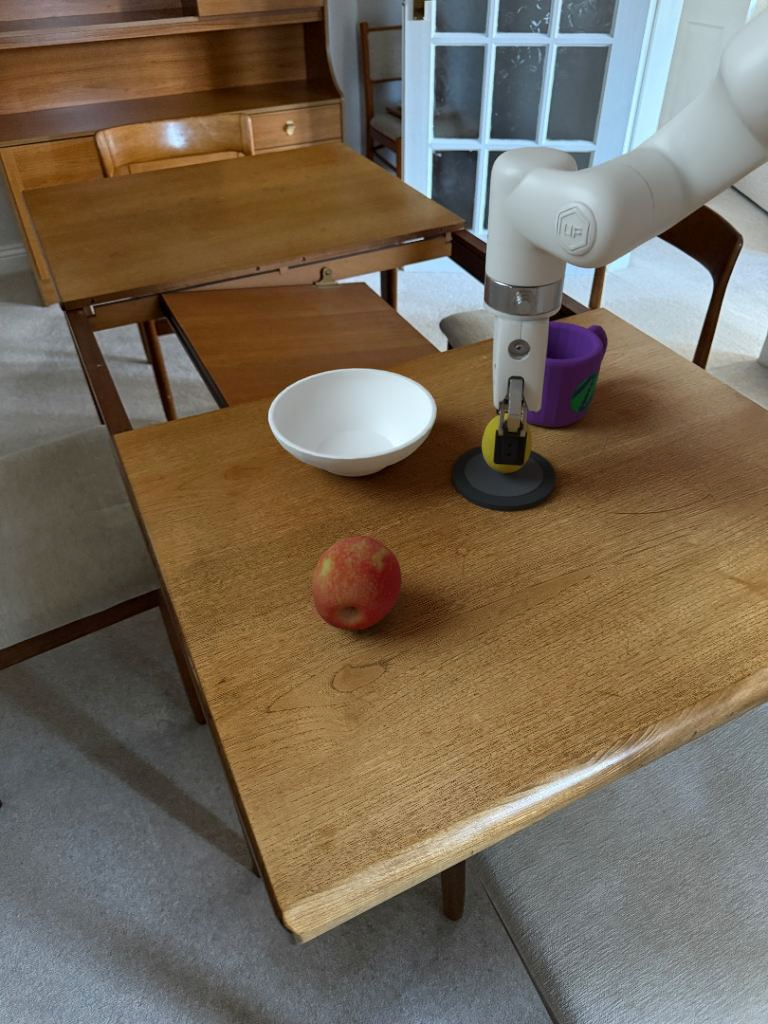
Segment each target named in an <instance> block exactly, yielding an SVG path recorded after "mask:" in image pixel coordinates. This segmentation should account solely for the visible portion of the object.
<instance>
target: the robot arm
mask: <svg viewBox="0 0 768 1024" xmlns="http://www.w3.org/2000/svg"><path fill="white" fill-rule="evenodd" d="M767 163H768V5H767V6H766V7H765V8H764V9H762V10H761V11H760V12H759V13H758V14H757V15H756V16H755V17H753V18H752V19H751V20H750V21H748V22H747V23H746V24H745V25H744V26H742V27H741V28H740V29H739V30H738V31H737V32H735V34H734V35H732V37H730V39H729V40H728V41H727V42H726V44H725V45H724V47H723V49H722V51H721V53H720V56H719V64H718V68H717V71H716V73H715V75H714V77H713V78H712V80H711V81H710V82H709V83H708V85H707V86H706V87H705V88H704V89H703V91H701V92H700V93H699V94H698V95H697V96H696V98H694V99H693V100H692V101H691V102H690V103H689V104H688V105H686V106H685V108H683V109H682V110H681V111H679V112H678V113H676V115H675V116H673V118H671V119H670V120H669V121H668V122H666V123H665V124H664V125H662V127H660V128H659V129H658V130H657V131H655V132H654V133H653V134H652V135H651V136H649V137H648V138H647V139H646V140H644V141H642V143H641V144H639V145H637V146H636V147H635V148H633V149H632V150H630V151H628V152H626V153H623V154H620V155H618V156H616V157H613V158H610V159H609V160H606V161H604V162H602V163H599V164H597V165H594V166H590V167H587V168H582V169H578V165H577V162H576V160H575V158H574V156H572V155H571V154H570V153H568V152H566V151H564V150H561V149H558V148H553V147H548V146H547V147H546V146H524V147H517V148H513V149H509V150H507V151H504V152H502V153H501V154H500V155H499V156H498V157H496V160H494V163H493V165H492V169H491V173H490V185H489V201H488V216H487V219H488V220H487V222H488V223H487V236H486V250H485V251H486V253H485V254H486V255H485V269H484V270H485V271H484V286H483V299H482V300H483V301H482V305H483V308H484V309H485V310H486V311H487V313H490V314H491V315H493V316H494V323H493V338H492V339H493V342H492V393H493V396H492V397H493V407H494V408H495V411H496V412H495V413H496V414H497V415H496V416H498V415H499V428H498V430H496V434H495V447H494V459H493V462H494V463H495V464H501V465H517V466H521V465H523V464H524V458H525V449H526V440H527V432H526V418H527V409H529V411H535V412H538V411H539V410H540V409H541V402H542V391H543V381H544V372H545V363H546V353H547V343H548V331H549V322H550V317H553V316H555V315H556V314H558V312H560V310H561V308H562V300H563V294H564V285H565V277H566V271H567V269H566V268H567V264H569V265H571V266H574V267H577V268H581V269H586V270H587V269H598V268H602V267H606V266H608V265H610V264H613V263H614V262H616V261H617V260H619V259H620V258H623V257H624V256H626V255H627V254H629V253H631V252H632V251H634V250H636V249H637V248H638V247H640V246H642V245H643V244H646V243H647V242H649V241H650V240H652V239H654V238H657V236H659V235H661V234H664V233H665V232H666V231H668V230H669V229H671V228H673V227H674V226H675V225H677V224H678V223H680V222H681V221H683V220H684V219H686V218H687V217H688V216H690V215H691V214H693V213H694V212H696V211H697V210H698V209H700V208H702V207H703V206H704V205H706V204H707V203H709V202H710V201H712V200H713V199H714V198H716V197H717V196H720V194H722V193H723V192H725V191H726V190H728V189H730V187H733V186H734V185H735V184H737V183H738V182H740V181H741V180H743V179H744V178H745V177H746V176H748V175H749V174H751V173H753V172H754V171H756V170H757V169H758V168H760V167H762V166H763V165H765V164H767ZM505 413H508V418H507V420H505V421H504V416H505ZM520 418H521V420H520Z"/></svg>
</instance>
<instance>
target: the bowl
mask: <svg viewBox="0 0 768 1024" xmlns="http://www.w3.org/2000/svg"><path fill="white" fill-rule="evenodd" d="M437 411H438V408H437V404H436V400H435V398H434V397H433V395H432V394H431V392H430V391H429V390H428V389H427V388H426V387H425V386H423V385H422V384H420V383H419V382H417V381H416V380H414V379H412V378H410V377H407V376H404V375H402V374H399V373H396V372H391V371H387V370H382V369H375V368H361V367H360V368H359V367H358V368H357V367H356V368H355V367H354V368H353V367H352V368H341V369H340V368H339V369H333V370H328V371H323V372H320V373H316V374H312V375H310V376H306V377H305V378H302V379H299V380H297V381H296V382H293V383H292V384H290V385H288V386H287V387H285V389H283V390H282V391H281V392H279V393H278V394H277V396H276V397H275V398H274V400H273V401H272V402H271V405H270V407H269V409H268V418H267V421H268V423H269V424H268V425H269V427H270V429H271V432H272V435H273V436H274V438H275V439H276V440H277V442H278V443H279V444H280V445H281V447H282V448H283V449H284V450H286V451H287V452H288V453H289V454H290V455H291V456H293V457H294V458H296V459H297V460H298V461H300V462H302V463H304V464H306V465H308V466H310V467H314V468H317V469H320V470H324V471H327V472H329V473H330V474H334V475H338V476H343V477H344V476H345V477H363V476H367V475H368V476H369V475H372V474H376V473H377V472H380V471H382V470H384V469H385V468H386V467H388V466H391V465H394V464H397V463H399V462H401V461H402V460H404V459H407V457H409V456H411V454H413V453H414V452H415V451H417V449H419V447H420V446H422V444H423V443H424V442H425V440H427V438H428V437H429V435H430V433H431V432H432V429H433V426H434V425H435V422H436V420H437Z"/></svg>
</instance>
